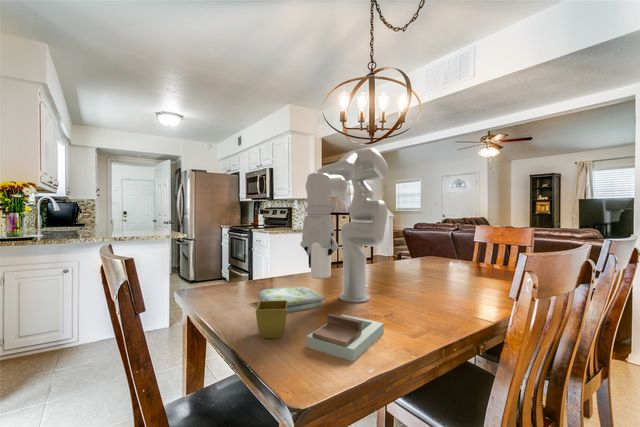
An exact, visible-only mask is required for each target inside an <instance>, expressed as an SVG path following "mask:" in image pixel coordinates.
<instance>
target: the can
mask: <svg viewBox="0 0 640 427" xmlns="http://www.w3.org/2000/svg"><path fill="white" fill-rule="evenodd" d="M314 241H317V240H314ZM330 248H332V246H331V244H330V245H329V246H328V247H326V248H322V247H321V246H320V244H319V243H317V242H315V243H313V244H312V246H311V268H310V276H311V278H313V279H318V280H326V279H330V277H331V276H332V275H331V274H332V271H331V270H332V254H331V255H329V256H328V250H329V249H330Z"/></svg>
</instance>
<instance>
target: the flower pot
mask: <svg viewBox="0 0 640 427" xmlns="http://www.w3.org/2000/svg"><path fill="white" fill-rule="evenodd" d="M287 303H288V301H287V300H280V301H260V300H259V301H258V303H257V305H256V308H255V316H256V317H255V318H256V325H257V326H256V327H257V329H258V332H259V335H260V336H261V337H262V339H280V338H281V337H282V336H283V334H284V332H285V330H286V324H287V314H288V313H287Z"/></svg>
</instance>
